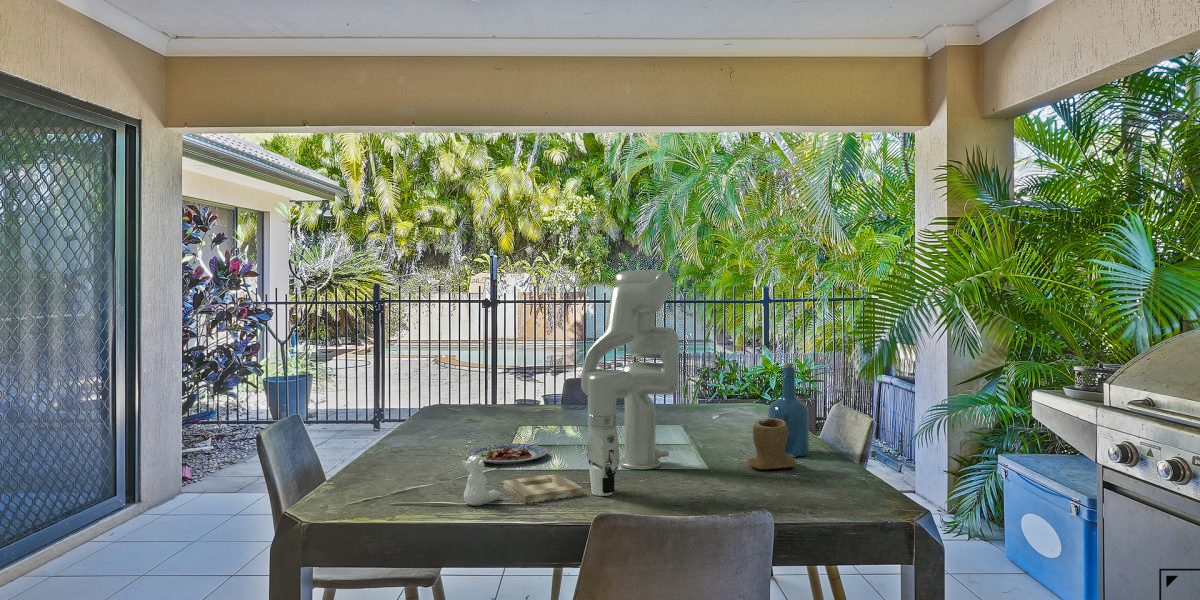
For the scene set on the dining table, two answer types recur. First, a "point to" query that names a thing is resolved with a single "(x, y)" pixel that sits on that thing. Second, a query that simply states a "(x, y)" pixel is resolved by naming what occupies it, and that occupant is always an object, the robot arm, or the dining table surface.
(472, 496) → the sitting furry creature
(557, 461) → the dining table surface
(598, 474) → the white cup
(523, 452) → the ceramic plate
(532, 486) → the coaster board
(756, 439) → the stone cup
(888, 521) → the dining table surface
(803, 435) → the wine bottle
